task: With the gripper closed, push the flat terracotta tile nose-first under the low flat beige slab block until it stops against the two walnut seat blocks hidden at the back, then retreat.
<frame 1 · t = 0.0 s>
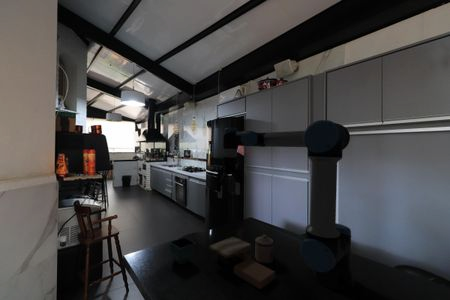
hand: (229, 196, 113), 28 cm above the table, fingers open, 13 cm apart
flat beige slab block: (230, 262, 99), on the table
teacup with lid: (264, 257, 104), on the table
flower pot: (182, 261, 99), on the table
tile: (253, 277, 89), on the table
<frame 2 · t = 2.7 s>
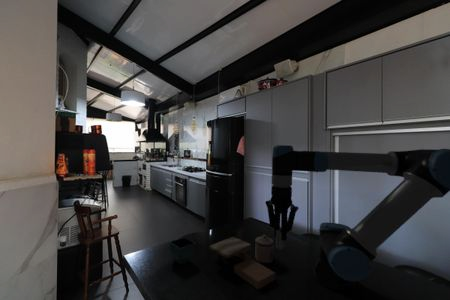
hand: (280, 247, 80), 16 cm above the table, fingers closed
nothing on the table moved.
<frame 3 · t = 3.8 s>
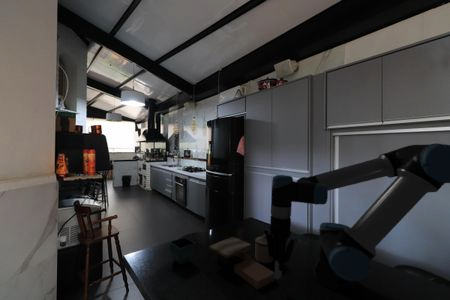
hand: (278, 277, 80), 5 cm above the table, fingers closed
nothing on the table moved.
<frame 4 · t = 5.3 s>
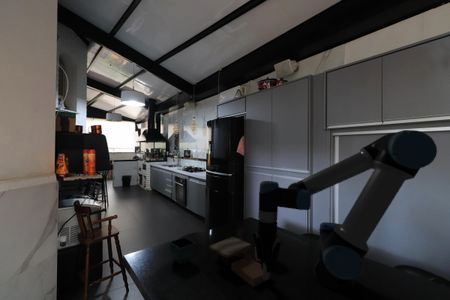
hand: (265, 278, 84), 2 cm above the table, fingers closed
tile: (250, 274, 90), on the table
everything else where it was.
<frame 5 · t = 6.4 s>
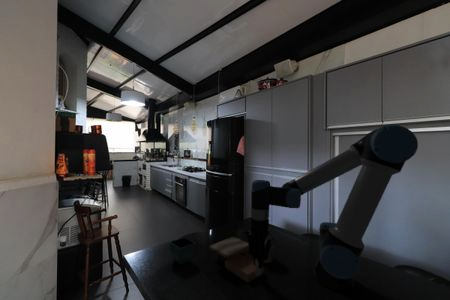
hand: (258, 274, 87), 2 cm above the table, fingers closed
tile: (243, 270, 93), on the table
everything else where it was.
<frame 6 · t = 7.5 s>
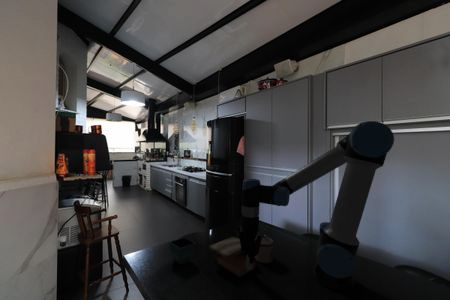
hand: (249, 269, 91), 2 cm above the table, fingers closed
tile: (235, 267, 96), on the table
everything else where it was.
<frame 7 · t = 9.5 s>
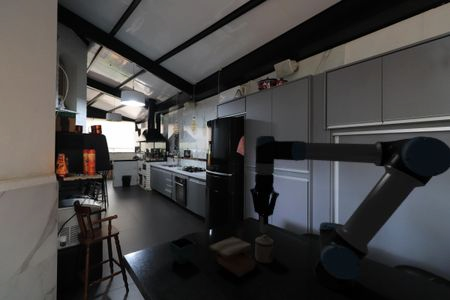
hand: (263, 231, 86), 20 cm above the table, fingers closed
nothing on the table moved.
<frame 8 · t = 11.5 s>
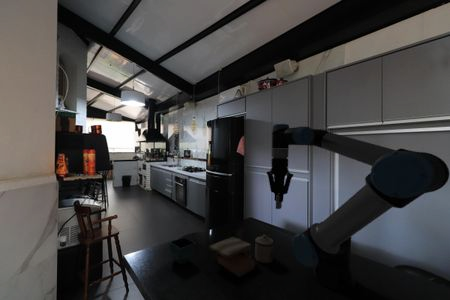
hand: (278, 208, 98), 26 cm above the table, fingers closed
nothing on the table moved.
at the end: tile 0.5 cm from the target spot, on the table; tile tilted 0° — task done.
